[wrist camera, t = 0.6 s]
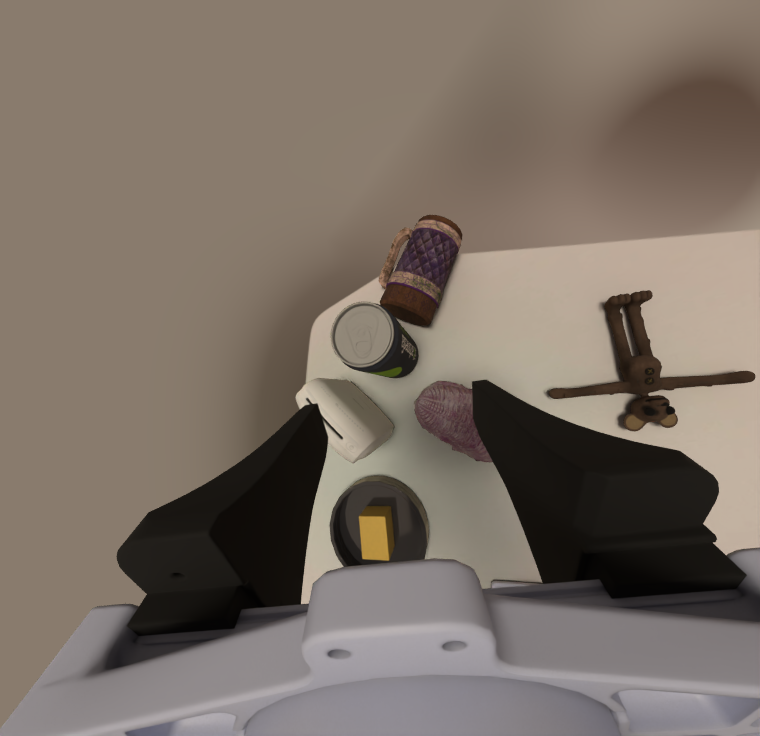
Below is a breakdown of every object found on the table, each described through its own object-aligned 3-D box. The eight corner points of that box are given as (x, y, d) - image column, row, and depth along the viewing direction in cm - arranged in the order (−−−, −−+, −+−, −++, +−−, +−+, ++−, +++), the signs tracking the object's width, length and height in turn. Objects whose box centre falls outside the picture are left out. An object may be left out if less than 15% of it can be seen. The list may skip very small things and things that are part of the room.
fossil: (430, 369, 36) (427, 365, 31) (540, 414, 33) (556, 417, 28) (407, 425, 37) (400, 430, 32) (514, 475, 33) (525, 490, 28)
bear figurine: (744, 272, 26) (803, 424, 23) (705, 291, 30) (751, 423, 27) (538, 305, 31) (566, 437, 28) (529, 319, 35) (552, 434, 32)
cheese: (394, 546, 35) (389, 560, 32) (370, 544, 36) (362, 559, 33) (391, 505, 36) (385, 516, 33) (366, 505, 37) (358, 516, 34)
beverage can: (420, 377, 37) (398, 368, 22) (375, 379, 38) (328, 372, 24) (417, 331, 37) (395, 294, 23) (374, 335, 39) (327, 302, 24)
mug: (440, 330, 34) (477, 243, 34) (409, 305, 29) (452, 203, 29) (385, 319, 41) (415, 246, 41) (352, 297, 36) (387, 214, 36)
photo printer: (400, 427, 37) (375, 444, 25) (379, 449, 37) (344, 476, 25) (349, 376, 39) (304, 369, 28) (330, 397, 40) (278, 400, 28)
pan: (434, 577, 34) (432, 592, 32) (341, 570, 37) (333, 583, 35) (422, 474, 36) (420, 480, 33) (334, 476, 39) (326, 482, 36)
